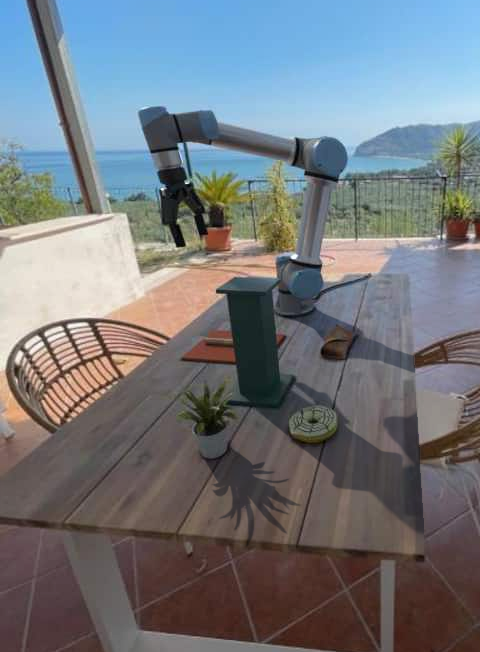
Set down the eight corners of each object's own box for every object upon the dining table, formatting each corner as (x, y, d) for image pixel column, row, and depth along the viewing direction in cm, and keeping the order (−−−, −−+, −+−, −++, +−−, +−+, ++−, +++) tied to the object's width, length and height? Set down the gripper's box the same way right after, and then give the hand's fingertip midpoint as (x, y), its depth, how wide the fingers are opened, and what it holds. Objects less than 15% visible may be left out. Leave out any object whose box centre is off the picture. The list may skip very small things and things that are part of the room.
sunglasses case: (347, 358, 117) (335, 340, 116) (328, 366, 120) (316, 349, 118) (358, 333, 134) (349, 317, 132) (342, 341, 136) (332, 325, 135)
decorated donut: (293, 415, 93) (292, 402, 91) (338, 415, 93) (338, 402, 91) (286, 446, 83) (284, 431, 81) (336, 446, 83) (335, 431, 81)
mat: (213, 332, 136) (213, 329, 136) (285, 336, 133) (284, 334, 133) (181, 359, 118) (181, 357, 118) (263, 365, 115) (263, 363, 114)
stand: (246, 373, 110) (234, 274, 100) (294, 377, 108) (286, 276, 98) (223, 402, 97) (206, 292, 87) (277, 407, 96) (266, 295, 85)
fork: (210, 339, 129) (209, 334, 128) (275, 343, 126) (275, 337, 126) (201, 347, 124) (200, 341, 123) (269, 351, 121) (269, 345, 120)
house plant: (170, 488, 72) (153, 416, 67) (171, 441, 84) (157, 376, 78) (248, 465, 78) (239, 396, 72) (239, 424, 90) (230, 362, 84)
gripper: (181, 165, 122) (201, 231, 130) (129, 174, 99) (158, 254, 108) (203, 162, 121) (222, 229, 129) (156, 170, 98) (182, 251, 107)
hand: (193, 240), depth 118 cm, fingers open, 13 cm apart
